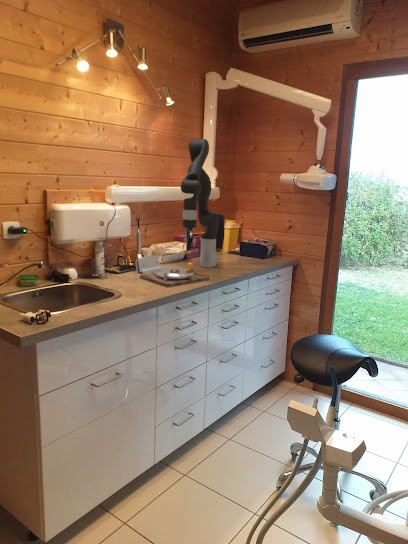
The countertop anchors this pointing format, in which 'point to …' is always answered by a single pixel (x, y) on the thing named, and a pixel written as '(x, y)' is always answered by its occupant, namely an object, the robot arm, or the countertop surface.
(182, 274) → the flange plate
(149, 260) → the hinge
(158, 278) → the base board
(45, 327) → the countertop surface
